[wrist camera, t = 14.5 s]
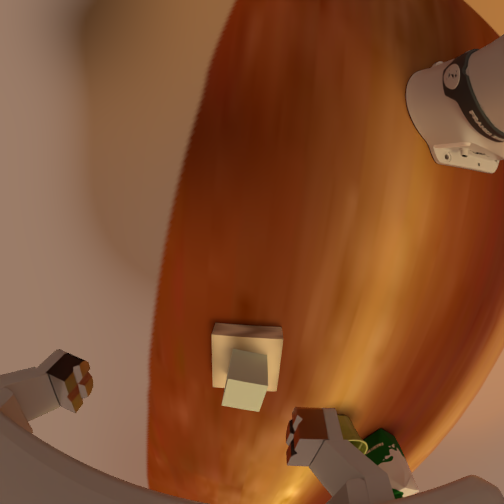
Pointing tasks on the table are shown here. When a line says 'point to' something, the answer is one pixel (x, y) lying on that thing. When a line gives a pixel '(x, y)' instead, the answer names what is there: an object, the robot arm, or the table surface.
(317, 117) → the table surface
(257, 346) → the birch block
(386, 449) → the milk carton
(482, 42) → the table surface
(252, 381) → the sage block
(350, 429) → the plant pot
